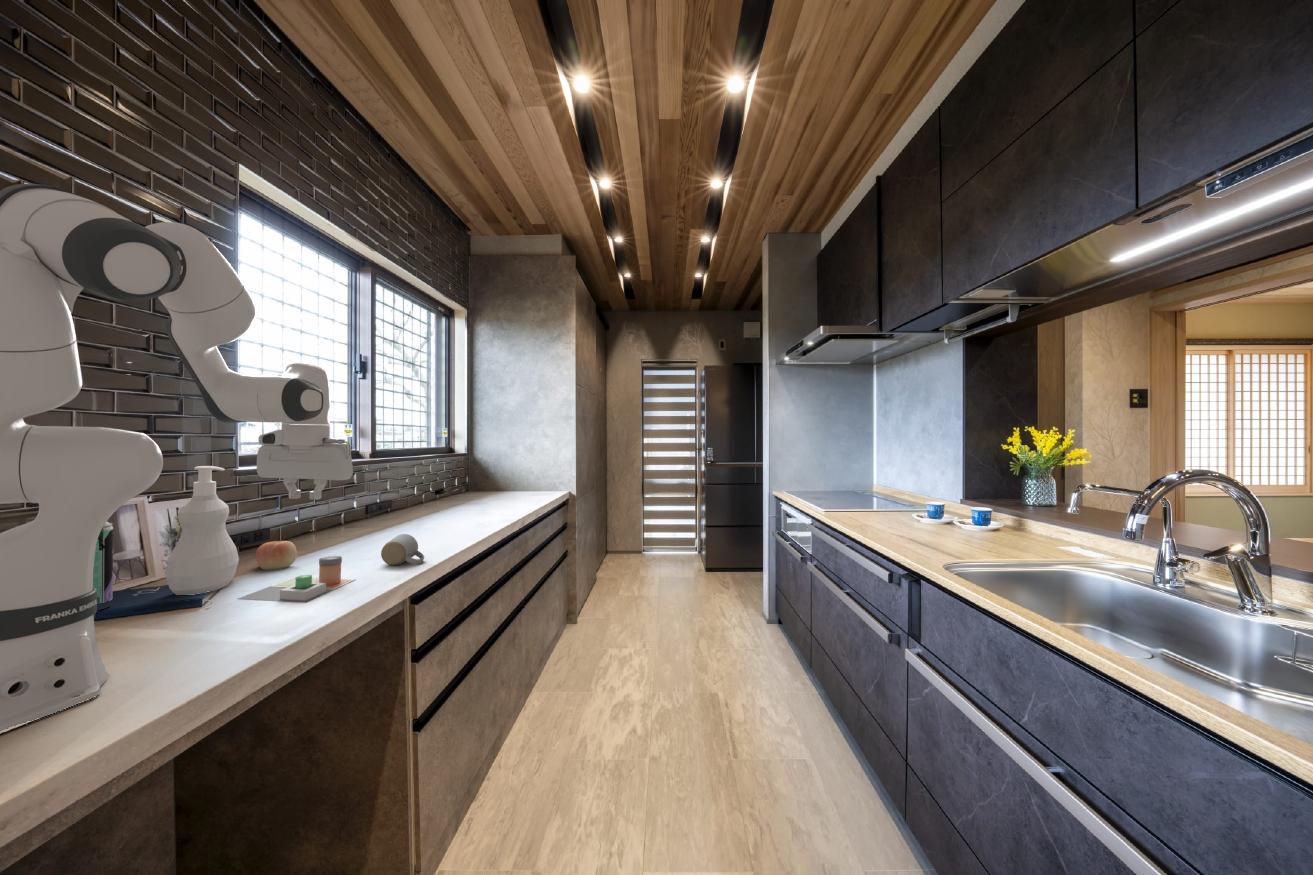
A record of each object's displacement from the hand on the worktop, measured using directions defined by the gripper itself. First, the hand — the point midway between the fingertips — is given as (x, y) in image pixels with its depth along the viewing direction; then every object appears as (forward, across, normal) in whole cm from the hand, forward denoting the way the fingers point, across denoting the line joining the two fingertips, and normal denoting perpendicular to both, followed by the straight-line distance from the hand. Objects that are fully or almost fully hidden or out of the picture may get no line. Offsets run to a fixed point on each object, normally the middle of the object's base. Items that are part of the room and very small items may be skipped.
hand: (305, 498), depth 109 cm
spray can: (+23, +38, +10) cm, 46 cm away
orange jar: (+22, 0, -8) cm, 23 cm away
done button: (+20, 0, 0) cm, 20 cm away
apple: (+23, +24, -20) cm, 39 cm away
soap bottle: (+23, +26, -2) cm, 35 cm away
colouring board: (+23, +4, -4) cm, 24 cm away
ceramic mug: (+23, -4, -32) cm, 40 cm away
